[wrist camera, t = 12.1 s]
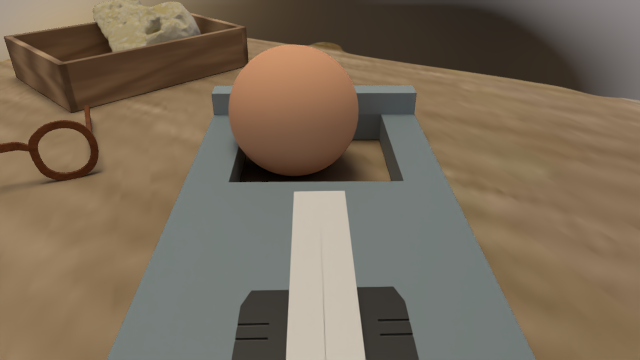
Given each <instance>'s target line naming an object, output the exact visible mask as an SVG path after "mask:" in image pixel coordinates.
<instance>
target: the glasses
mask: <svg viewBox="0 0 640 360" xmlns="http://www.w3.org/2000/svg"><path fill="white" fill-rule="evenodd" d="M84 111H85V119H86V127H85V126H84V125H82V124H80V123H78V122H74V121H68V120H60V121H54V122H50V123H48V124H45V125H43V126H42V127H40V128H39V129H38V130H37V131H36V132H35V133H34V134H33V135H32V136H31V137H30V139H29V142H28V144H24V143H20V142H10V143H3V144H0V153H3V152H9V151H15V150H22V151H29V152H30V155H31V157H32V160H33V162H34V163H35V165H36V167H37V168H38V169H39V171H40V172H41V173H42V174H44V175H45V176H46V177H49V178H51V179H55V180H70V179H76V178H80V177H82V176H84V175H86V174H88V173H89V172H90V171H91V170H92V169H93V168H94V167H95V165H96V163H97V160H98V145H97V142H96V139H95V137H94V135H93V134H92V126H91V120H90V110H89V105H85V109H84ZM59 128H70V129H74V130H77V131H79V132H80V133H82V134H83V135H84V136H85V137H86V138H87V140H88V142H89V144H90V148H91V156H90V159H89V161H88V163H87V164H86V165H85V166H84V167H82V168H81V169H79V170H77V171H73V172H67V173H61V172H56V171H53V170H51V169H49V168H48V167H47V166H46V165H45V164H44V163H43V161H42V159H41V158H40V155H39V152H38V143H39V141H40V139H41V138H42V137H43V136H44V134H46V133H47V132H49V131H52V130H54V129H59Z"/></svg>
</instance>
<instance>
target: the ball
mask: <svg viewBox="0 0 640 360" xmlns="http://www.w3.org/2000/svg"><path fill="white" fill-rule="evenodd" d="M358 112H359V108H358V99H357V94H356V91H355V88H354V85H353V83H352V81H351V79H350V77H349V76H348V74H347V73H346V71H345V70H344V69H343V68H342V66H341V65H340V64H339V63H338V62H337V61H335V60H334V59H333V58H332V57H330V56H329V55H327V54H326V53H324V52H322V51H320V50H318V49H315V48H312V47H309V46H303V45H282V46H278V47H274V48H271V49H269V50H266V51H264V52H262V53H261V54H259V55H257V56H256V57H255V58H253V59H252V60H251V61H250V62H249V63H248V64H247V65H246V66H245V67H244V68H243V69H242V71H241V72H240V73H239V75H238V77H237V78H236V80H235V82H234V85H233V87H232V90H231V94H230V99H229V121H230V126H231V130H232V133H233V135H234V138H235V140H236V142H237V143H238V145H239V147H240V148H241V149H242V151H243V152H244V153H245V154H246V155H247V156H248V157H249V158H250V159H251V160H252V161H253V162H254V163H256V164H257V165H259V166H260V167H262V168H264V169H266V170H268V171H270V172H273V173H276V174H280V175H285V176H302V175H308V174H312V173H315V172H318V171H320V170H322V169H324V168H326V167H328V166H329V165H331V164H332V163H334V162H335V161H336V160H337V159H338V158H339V157H340V156H341V155H342V154H343V153H344V152H345V150H346V149H347V147H348V146H349V144H350V143H351V141H352V139H353V136H354V134H355V131H356V128H357V122H358Z"/></svg>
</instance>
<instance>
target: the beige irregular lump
mask: <svg viewBox="0 0 640 360" xmlns="http://www.w3.org/2000/svg"><path fill="white" fill-rule="evenodd" d="M93 16H94V20H95V21H96V22H97V24H98V26H99V27H100V29H101V31H102V33H103V34H104V36H105V38H106V39H108V41H109V46H110V47H111V49H112V52H117V51H122V50H127V49H132V48H136V47H141V46H146V45H151V44H156V43H161V42H166V41H171V40H176V39H181V38H186V37H191V36H196V35H201V33H200V30H199V28H198V26H197V24H196V22H195V20H194V18H193V17H192V15H191V14H190V13H189V12H188V11H187V10H186V9H185V8H184V7H183V5H182V4H181V3H179V2H166V3H162V4H160V5H157V6H153V7H146V6H143V5H142V4H141V2H140V0H113V1H108V2H102V3H99V4H98V5H96V6H95V7H94V8H93Z"/></svg>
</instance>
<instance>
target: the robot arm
mask: <svg viewBox="0 0 640 360" xmlns="http://www.w3.org/2000/svg"><path fill="white" fill-rule="evenodd" d="M237 324H238V326H237V329H236V336H235V342H234V348H233V354H232V360H419V357H418V353H417V349H416V345H415V340H414V337H413V332H412V328H411V324H410V322H409V315H408V311H407V307H406V303H405V300H404V299H403V298H402V297H401V295H400V294H399V293H398V292H397V290H396V289H395V288H394V287H393V286H389V287H357V286H356V278H355V270H354V262H353V254H352V246H351V238H350V230H349V222H348V213H347V205H346V197H345V191H300V192H294V202H293V223H292V244H291V265H290V285H289V290H251V292H250V293H249V294H248V296H247V297H246V299H245V300H244V302H243V303H242V304H241V306H240V311H239V317H238V323H237Z"/></svg>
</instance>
